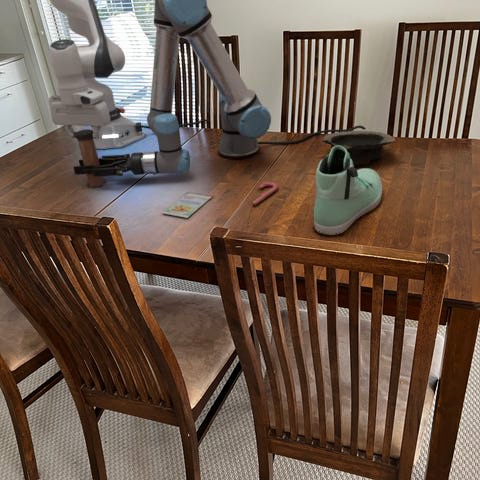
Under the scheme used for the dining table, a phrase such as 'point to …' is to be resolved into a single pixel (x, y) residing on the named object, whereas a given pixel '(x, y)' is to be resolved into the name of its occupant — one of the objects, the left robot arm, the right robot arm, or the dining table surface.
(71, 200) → the dining table surface
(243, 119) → the right robot arm
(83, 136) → the lid
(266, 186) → the candy cane
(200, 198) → the baking ingredient package
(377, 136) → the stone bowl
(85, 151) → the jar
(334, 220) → the sneaker
